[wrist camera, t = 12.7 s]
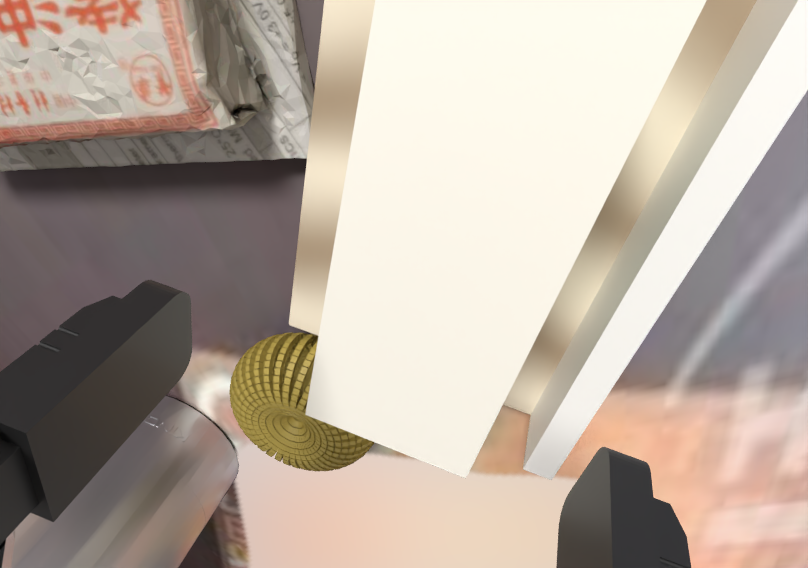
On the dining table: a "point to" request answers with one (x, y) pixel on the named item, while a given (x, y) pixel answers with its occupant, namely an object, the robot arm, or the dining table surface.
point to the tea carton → (474, 202)
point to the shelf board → (636, 181)
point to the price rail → (677, 220)
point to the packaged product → (151, 82)
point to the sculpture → (288, 406)
